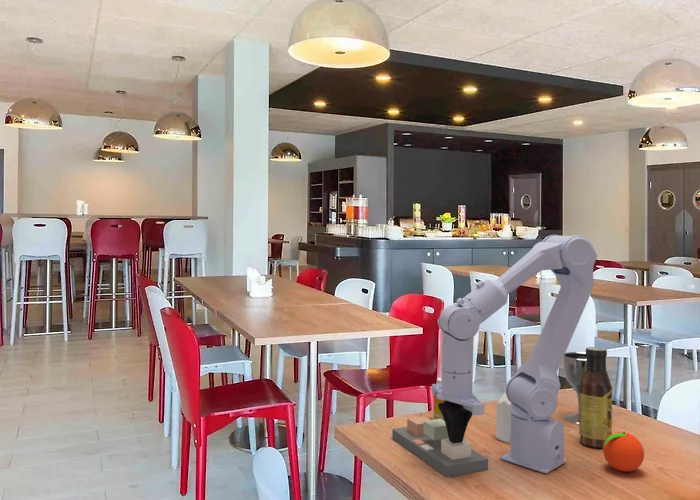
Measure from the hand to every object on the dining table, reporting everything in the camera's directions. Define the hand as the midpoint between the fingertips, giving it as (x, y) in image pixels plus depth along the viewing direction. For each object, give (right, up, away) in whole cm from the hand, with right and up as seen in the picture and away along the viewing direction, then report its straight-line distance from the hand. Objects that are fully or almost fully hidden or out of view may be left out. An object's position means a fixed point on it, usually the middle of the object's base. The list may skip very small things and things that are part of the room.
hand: (455, 441), depth 110 cm
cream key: (0, -2, 0) cm, 2 cm away
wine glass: (+34, -4, +27) cm, 44 cm away
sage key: (-3, -1, +6) cm, 7 cm away
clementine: (+30, -5, -2) cm, 31 cm away
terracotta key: (-5, -2, +12) cm, 13 cm away
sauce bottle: (+31, -4, +12) cm, 33 cm away
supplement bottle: (+2, -4, +26) cm, 26 cm away
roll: (+14, -4, +15) cm, 21 cm away
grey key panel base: (-3, -4, +6) cm, 8 cm away
